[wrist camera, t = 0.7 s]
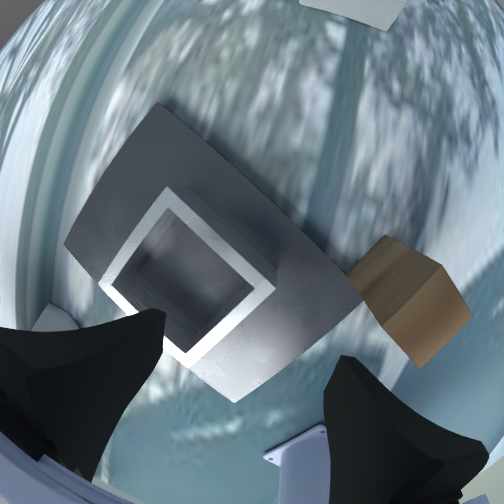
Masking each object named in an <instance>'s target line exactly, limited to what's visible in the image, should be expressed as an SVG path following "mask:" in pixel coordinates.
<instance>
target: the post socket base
mask: <svg viewBox="0 0 504 504" xmlns="http://www.w3.org/2000/svg"><path fill="white" fill-rule="evenodd" d="M64 245H65V247H66V248H67V249H68V250H69V251H70V253H71V254H72V255H73V256H74V257H75V259H76V260H77V261H78V262H79V263H80V264H81V266H82V267H83V268H84V269H85V270H86V271H87V272H88V274H89V275H90V276H91V277H92V278H93V279H94V280H95V281H96V282H97V284H98V285H99V286H100V287H101V288H102V289H103V290H104V291H105V292H106V293H107V294H108V295H109V296H110V297H111V298H112V299H113V300H114V301H115V302H116V303H117V305H118V306H119V307H120V308H121V309H122V310H123V311H124V312H126V313H127V314H128V315H132V314H135V313H138V312H141V311H144V310H147V309H150V308H155V309H158V310H161V311H164V312H166V322H165V332H164V342H163V348H164V349H166V350H167V351H168V352H169V353H170V354H171V355H173V356H174V357H175V358H176V359H177V360H179V361H180V362H181V363H182V364H183V365H185V366H186V367H187V368H188V369H190V370H191V371H192V372H193V373H195V374H196V375H197V376H199V377H200V378H201V379H202V380H204V381H205V382H206V383H208V384H209V385H210V386H212V387H213V388H214V389H216V390H217V391H218V392H220V393H221V394H222V395H224V396H225V397H227V398H228V399H229V400H231V401H232V402H234V403H235V402H237V401H238V400H240V399H241V398H243V397H244V396H246V395H247V394H248V393H250V392H251V391H253V390H254V389H256V388H257V387H259V386H260V385H261V384H263V383H264V382H265V381H267V380H268V379H270V378H271V377H272V376H274V375H275V374H276V373H278V372H279V371H280V370H282V369H283V368H284V367H286V366H287V365H288V364H290V363H291V362H292V361H293V360H295V359H296V358H297V357H299V356H300V355H301V354H302V353H304V352H305V351H306V350H307V349H309V348H310V347H311V346H312V345H313V344H315V343H316V342H317V341H318V340H319V339H321V338H322V337H323V336H324V335H325V334H327V333H328V332H329V331H330V330H331V329H332V328H334V327H335V326H336V325H337V324H338V323H339V322H340V321H342V320H343V319H344V318H345V317H346V316H347V315H348V314H349V313H350V312H352V311H353V310H354V309H355V308H356V307H357V306H358V305H359V304H360V303H361V302H362V301H363V298H362V297H361V295H360V294H359V292H358V291H357V289H356V288H355V287H354V285H353V284H352V282H351V281H350V279H349V278H348V277H347V275H346V274H345V273H344V272H343V271H342V270H341V269H340V268H339V267H338V266H337V265H336V264H335V263H334V262H333V261H332V260H331V258H330V257H329V256H328V255H327V254H326V253H325V252H324V251H323V250H322V249H321V248H320V247H319V246H318V245H317V244H316V243H315V242H314V241H313V240H312V239H311V238H310V237H309V236H308V235H307V234H306V233H305V232H304V231H303V230H302V229H301V228H299V227H298V226H297V225H296V224H295V223H294V222H293V221H292V220H291V219H290V218H289V217H288V216H287V215H286V214H285V213H284V212H283V211H282V210H281V209H280V208H279V207H278V206H277V205H276V204H275V203H274V202H272V201H271V200H270V199H269V198H268V197H267V196H266V195H265V194H264V193H263V192H262V191H261V190H260V189H259V188H257V187H256V186H255V185H254V184H253V183H252V182H251V181H250V180H249V179H248V178H247V177H246V176H244V175H243V174H242V173H241V172H240V171H239V170H238V169H237V168H236V167H234V166H233V165H232V164H231V163H230V162H229V161H228V160H227V159H226V158H224V157H223V156H222V155H221V154H220V153H219V152H218V151H216V150H215V149H214V148H213V147H212V146H211V145H210V144H208V143H207V142H206V141H205V140H204V139H203V138H201V137H200V136H199V135H198V134H197V133H196V132H194V131H193V130H192V129H191V128H190V127H189V126H187V125H186V124H185V123H184V122H183V121H181V120H180V119H179V118H178V117H177V116H175V115H174V114H173V113H172V112H171V111H169V110H168V109H167V108H166V107H164V106H163V105H162V104H160V103H159V102H157V103H156V104H155V105H154V107H153V108H152V109H151V110H150V111H149V113H148V114H147V115H146V116H145V117H144V119H143V120H142V121H141V122H140V124H139V125H138V126H137V127H136V129H135V130H134V131H133V133H132V134H131V135H130V137H129V138H128V139H127V141H126V142H125V143H124V145H123V146H122V148H121V149H120V150H119V152H118V153H117V155H116V156H115V157H114V159H113V160H112V162H111V163H110V165H109V166H108V168H107V169H106V171H105V172H104V174H103V175H102V177H101V178H100V180H99V182H98V183H97V185H96V186H95V188H94V190H93V191H92V193H91V195H90V196H89V198H88V200H87V201H86V203H85V205H84V206H83V208H82V210H81V212H80V214H79V215H78V217H77V219H76V221H75V223H74V225H73V226H72V228H71V230H70V232H69V234H68V236H67V238H66V240H65V242H64Z"/></svg>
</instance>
